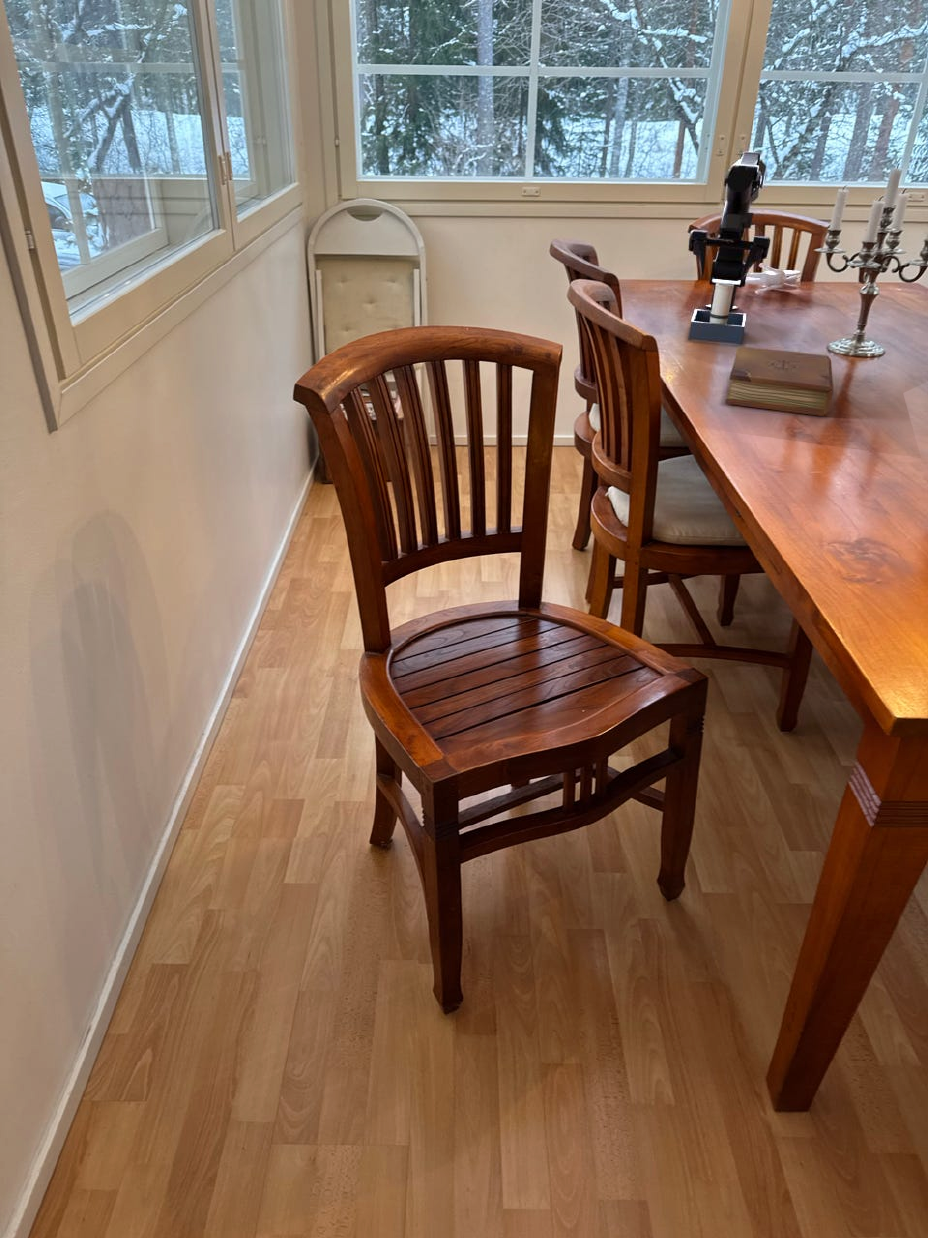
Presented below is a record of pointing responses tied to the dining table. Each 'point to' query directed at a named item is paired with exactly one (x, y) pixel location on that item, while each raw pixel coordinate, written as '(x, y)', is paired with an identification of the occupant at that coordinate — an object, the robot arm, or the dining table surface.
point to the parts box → (717, 328)
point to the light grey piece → (721, 303)
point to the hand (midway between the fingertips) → (721, 277)
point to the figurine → (773, 279)
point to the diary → (781, 381)
